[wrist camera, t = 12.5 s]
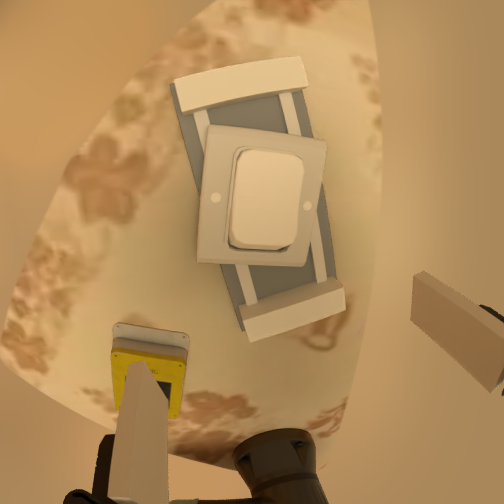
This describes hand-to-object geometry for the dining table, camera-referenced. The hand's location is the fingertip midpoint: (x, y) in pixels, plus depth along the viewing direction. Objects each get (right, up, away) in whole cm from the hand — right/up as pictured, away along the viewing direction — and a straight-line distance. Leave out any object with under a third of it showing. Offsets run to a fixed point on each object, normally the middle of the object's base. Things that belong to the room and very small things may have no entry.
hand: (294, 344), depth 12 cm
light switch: (-1, +9, +15) cm, 17 cm away
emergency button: (-15, -11, +22) cm, 29 cm away
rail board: (-1, +9, +16) cm, 19 cm away
